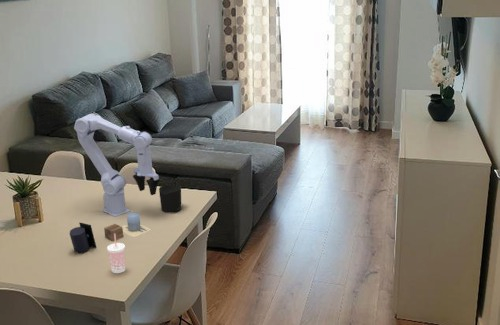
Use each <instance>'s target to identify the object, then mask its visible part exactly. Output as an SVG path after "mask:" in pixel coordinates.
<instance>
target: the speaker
mask: <svg viewBox="0 0 500 325" xmlns="http://www.w3.org/2000/svg"><path fill="white" fill-rule="evenodd" d="M69 236H70V240H71V243H72V247H73V250H74V252H75V253H76V254H83V253H85V252H87V251H89V250H90V248H95V249H96V248H97V244H96V243H97V242H96V239H95V237H94V232H93V228H92V225H91V224H88V223H83V222H79V226H77V227H74V228H72V229H70V230H69Z"/></svg>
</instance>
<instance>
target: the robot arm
mask: <svg viewBox="0 0 500 325" xmlns="http://www.w3.org/2000/svg"><path fill="white" fill-rule="evenodd" d="M73 129H74V131H75V132H76V135H77V139H78V142H79V144H80V145H81V147H82V148H83V150H84V151H85V154H87V156H88V158H89V159H90V160H91V162H92V163H93V166H94V167H95V169H96V170H97V171H98V173H99V175H100V176H101V177H100V178H101V179H100V183H101V186H102V189H103V191H104V193H103V195H102V198H103V210H102V212H104V213H106V214H109V215H110V216H112V217H118V216H120V215H123V214H127V213H128V212H130V211H131V209H129V208H127V207H126V198H125V187H126V185H127V180H126V178H125V177H124V176H123V175H122V174H121V173H120V172H119V171H118V170H116V169H114V168H112V165H111V164H110V163H109V161H108V160H107V158H106V157H105V155H104V153H103V152H102V151H101V149H100V147H99V146H98V144H97V143H96V141H95V139H94V134H95V131H97V130H102V131H105V132H108V133H111V134H114V135H117V136H118V139H119V140H121V141H124V142H126V143H129V144H131V145H133V146H134V148H135V149H136V157H137V167H135V168H133V173H134V174H133V175H132V178H133V179H134V180H135V182H136V185H137V188H138V190H139V191H140V192H142V191H145V190H146V189H145V188H146V183H147V186H148V189H149V194H150V196H154V195H156V194H157V189H158V184H159V182H160V181H161V180H160V179H161V178H160V176H159V174H157V173H156V172H155V171H154V170H153V163H152V162H153V160H152V151H151V143H152V142H153V137H152V135H151V134H150V133H149V132H147V131H140V130H135V129H133V128H132V127H131V126H130V125H124V126H122V127H121V126H119V125H117V124H115V123H113V122H110V121H108V120H106V119H104V118H103V117H102V116H101V115H99V114H95V113H88V114H87V115H85V116H81V118H80V117H79V118H77V119H76V120H75V123H74V127H73ZM146 178H148V179H146Z"/></svg>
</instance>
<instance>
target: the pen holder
mask: <svg viewBox="0 0 500 325" xmlns="http://www.w3.org/2000/svg"><path fill="white" fill-rule="evenodd" d="M158 193H159V200H160V207H161V208H160V209H161V211H162V212H164V213H167V214H176V213H178V212H180V211H181V210H182V186H177V185H176V186H175V185H172V184H164V185H162V186H160V187H159V188H158Z"/></svg>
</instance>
